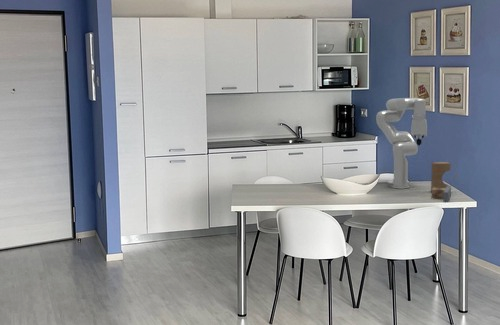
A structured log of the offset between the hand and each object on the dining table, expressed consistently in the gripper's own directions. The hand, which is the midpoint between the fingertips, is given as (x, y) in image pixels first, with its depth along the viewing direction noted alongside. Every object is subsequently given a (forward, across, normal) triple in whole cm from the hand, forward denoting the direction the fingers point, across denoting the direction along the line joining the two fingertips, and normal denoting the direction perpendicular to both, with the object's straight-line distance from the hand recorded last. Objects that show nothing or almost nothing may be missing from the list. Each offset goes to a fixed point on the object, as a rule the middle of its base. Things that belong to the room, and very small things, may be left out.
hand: (418, 145), depth 460 cm
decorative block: (+32, +14, +5) cm, 36 cm away
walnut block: (+32, +15, -14) cm, 38 cm away
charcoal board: (+32, +20, -14) cm, 40 cm away
